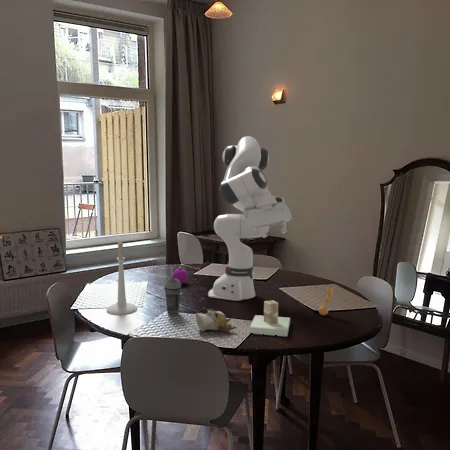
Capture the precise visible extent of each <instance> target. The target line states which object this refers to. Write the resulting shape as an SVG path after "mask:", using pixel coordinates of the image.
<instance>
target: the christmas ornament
mask: <svg viewBox="0 0 450 450" xmlns="http://www.w3.org/2000/svg"><path fill="white" fill-rule="evenodd" d="M172 272H173V278H177V279H178V280H179V281H180V283H181V285H183V284H185V283H186V282H187V281H188V278H189V273H188V271H187V270H186V269H184V268H183V267H182V266H181V264H179V266H177V268H176V269H175V270H174V271H172Z"/></svg>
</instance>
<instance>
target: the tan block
mask: <svg viewBox="0 0 450 450" xmlns="http://www.w3.org/2000/svg"><path fill="white" fill-rule="evenodd" d="M263 316H264V322H266V323H267V324H276V323H278V317H279V302H278V301H275V300H264V301H263Z"/></svg>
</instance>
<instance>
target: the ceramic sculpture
mask: <svg viewBox="0 0 450 450" xmlns="http://www.w3.org/2000/svg"><path fill="white" fill-rule="evenodd" d="M195 320H196V324H197V326H198V329H199V330H200V331H201V332H202V333H204V332H205V331H206V330H212V331H223V332H228V331H231V330H234V329H236V328H237V326H233V325H232V324H230V323H229V322H230V321H231V320H232V319H231V318H227V317H226V314H224V313H223V312H222V311H220V310H216V309H215V308H210V309H209V310H208V311H207V313H201V312H200V313H199V312H196V313H195Z"/></svg>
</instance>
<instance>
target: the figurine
mask: <svg viewBox="0 0 450 450" xmlns="http://www.w3.org/2000/svg"><path fill="white" fill-rule="evenodd" d="M326 289H327V292H326V293H325V294H324V299H323V300H324V302H325V303H324V304H322V305H321V306H320V307H318V312H319V314H320V315H322V316H327V314H328V313H329V307H328V305H329V303H330V302H331V299H332V297H333V296H334V292H335V289H333V288H330V286H329V287H327V288H326ZM325 296H326V297H325Z"/></svg>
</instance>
